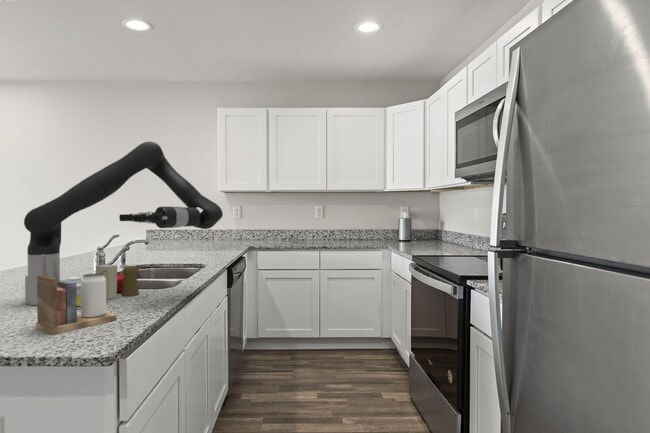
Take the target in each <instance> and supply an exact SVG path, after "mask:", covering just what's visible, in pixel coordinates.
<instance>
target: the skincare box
mask: <svg viewBox="0 0 650 433" xmlns="http://www.w3.org/2000/svg"><path fill="white" fill-rule="evenodd" d="M95 273H102V274H104V277H105V279H106V301H109V300H113V299H117V297H118V295H117V273H118V265H115V264H101V265H100V264H99V265H98V264H97V265H95Z"/></svg>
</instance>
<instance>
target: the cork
mask: <svg viewBox="0 0 650 433" xmlns="http://www.w3.org/2000/svg"><path fill="white" fill-rule="evenodd" d="M122 272H123V273H122V274H124V282H123V290H122V292H121V296H122V297H134V296H138V295H140V291H139V283H138V276H137V274H138V272H139V269H138V267H137V266H136V265H126V266H124V267H123V269H122Z"/></svg>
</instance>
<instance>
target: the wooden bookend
mask: <svg viewBox="0 0 650 433" xmlns="http://www.w3.org/2000/svg"><path fill="white" fill-rule="evenodd" d="M36 307H37V308H36V310H37V322H35V329H37V330H39V331H41V332H44V333H46V334H47V335H50V336H53V335H56V334H60V333H65V332H69V331H73V330H78V329H82V328H87V327H92V326H98V325H100V324H101V325H102V324H105V323H110V322H114V321H117V314H114V313H111V312H109V311H106V313H105V315H103V316H100V317H94V318H84V317H82V316H81V313H78V312H77V311H78V309H77V283H75V282H72V281H68V280H67V279H64V280H60V281H57V279H55V278H51V277H48V276H44V275H38V276H37V305H36Z"/></svg>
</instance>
